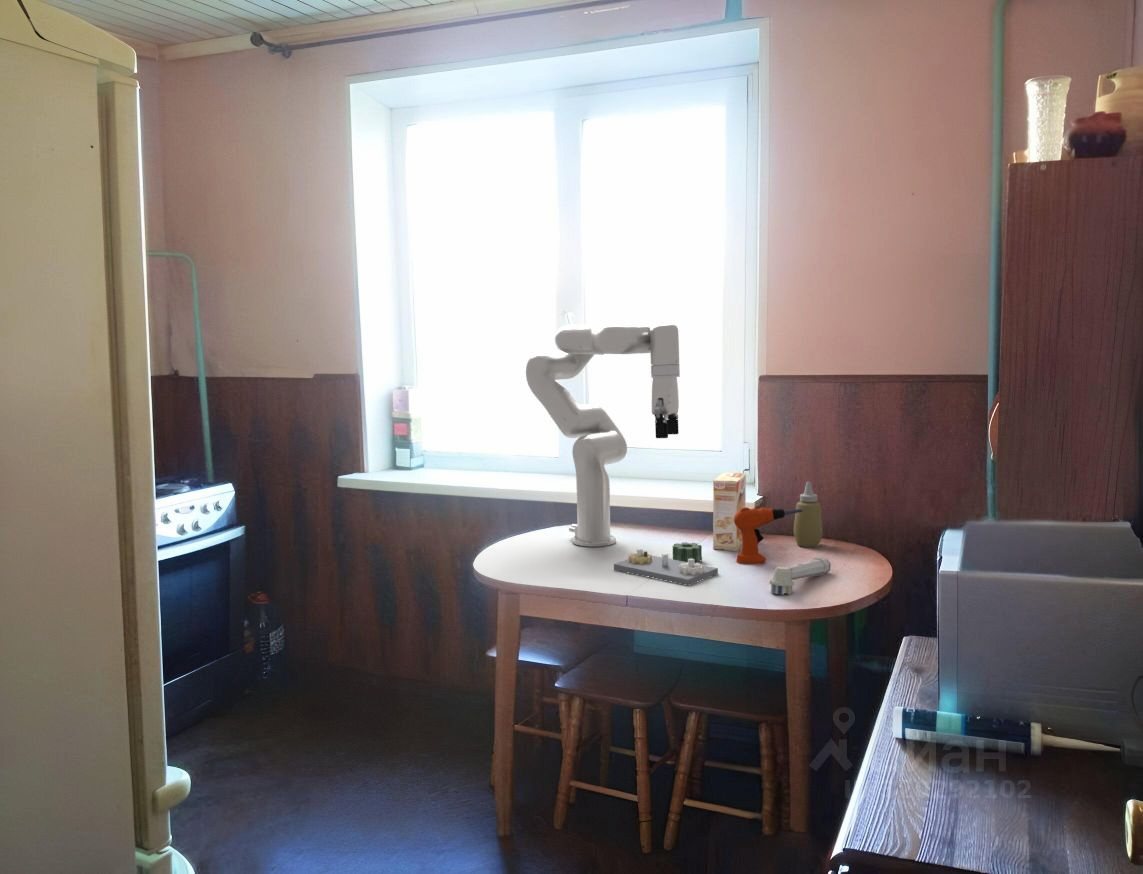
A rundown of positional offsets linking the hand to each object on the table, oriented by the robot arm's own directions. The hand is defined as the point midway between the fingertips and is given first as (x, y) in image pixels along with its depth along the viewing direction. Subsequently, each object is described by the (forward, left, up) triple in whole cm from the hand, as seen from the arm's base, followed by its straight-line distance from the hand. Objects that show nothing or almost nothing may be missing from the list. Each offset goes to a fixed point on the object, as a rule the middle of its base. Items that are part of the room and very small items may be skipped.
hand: (667, 436), depth 235 cm
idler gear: (+6, 0, -33) cm, 33 cm away
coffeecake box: (+5, +22, -33) cm, 40 cm away
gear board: (+8, -13, -33) cm, 36 cm away
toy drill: (+23, +12, -33) cm, 42 cm away
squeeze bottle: (+23, +34, -33) cm, 53 cm away
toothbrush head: (+40, -1, -33) cm, 52 cm away
